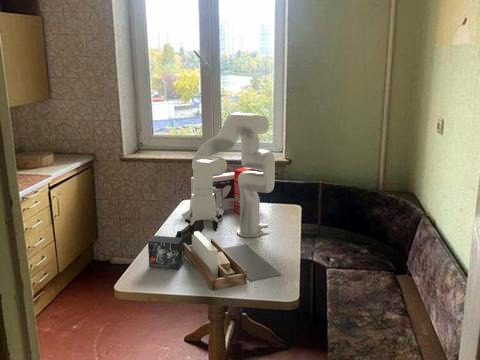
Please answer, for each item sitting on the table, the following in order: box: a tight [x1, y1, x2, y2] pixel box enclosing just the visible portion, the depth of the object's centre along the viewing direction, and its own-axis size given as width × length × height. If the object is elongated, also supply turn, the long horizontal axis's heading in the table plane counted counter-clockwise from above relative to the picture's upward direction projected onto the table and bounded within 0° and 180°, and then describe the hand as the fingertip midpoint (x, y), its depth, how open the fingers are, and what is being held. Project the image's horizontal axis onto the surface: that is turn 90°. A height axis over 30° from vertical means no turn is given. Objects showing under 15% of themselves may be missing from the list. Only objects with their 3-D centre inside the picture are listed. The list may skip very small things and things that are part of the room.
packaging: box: [190, 171, 234, 211], centre depth 270 cm, size 30×6×20 cm, turn 117°
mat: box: [223, 244, 282, 282], centre depth 203 cm, size 14×34×1 cm, turn 24°
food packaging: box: [233, 166, 259, 216], centre depth 266 cm, size 15×5×25 cm, turn 141°
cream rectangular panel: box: [192, 231, 218, 279], centre depth 194 cm, size 3×22×13 cm, turn 24°
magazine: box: [174, 219, 205, 245], centre depth 221 cm, size 17×3×30 cm
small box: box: [147, 235, 184, 271], centre depth 197 cm, size 13×7×12 cm, turn 80°
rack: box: [183, 238, 248, 291], centre depth 196 cm, size 14×36×6 cm, turn 24°
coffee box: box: [204, 189, 224, 222], centre depth 254 cm, size 9×6×16 cm
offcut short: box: [218, 252, 230, 269], centre depth 196 cm, size 4×12×2 cm, turn 18°
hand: (203, 232), depth 191 cm, fingers open, 9 cm apart
